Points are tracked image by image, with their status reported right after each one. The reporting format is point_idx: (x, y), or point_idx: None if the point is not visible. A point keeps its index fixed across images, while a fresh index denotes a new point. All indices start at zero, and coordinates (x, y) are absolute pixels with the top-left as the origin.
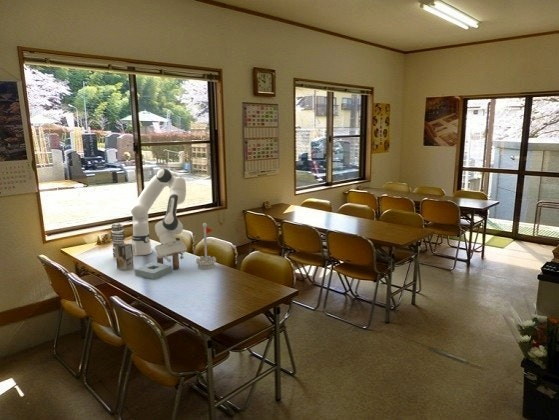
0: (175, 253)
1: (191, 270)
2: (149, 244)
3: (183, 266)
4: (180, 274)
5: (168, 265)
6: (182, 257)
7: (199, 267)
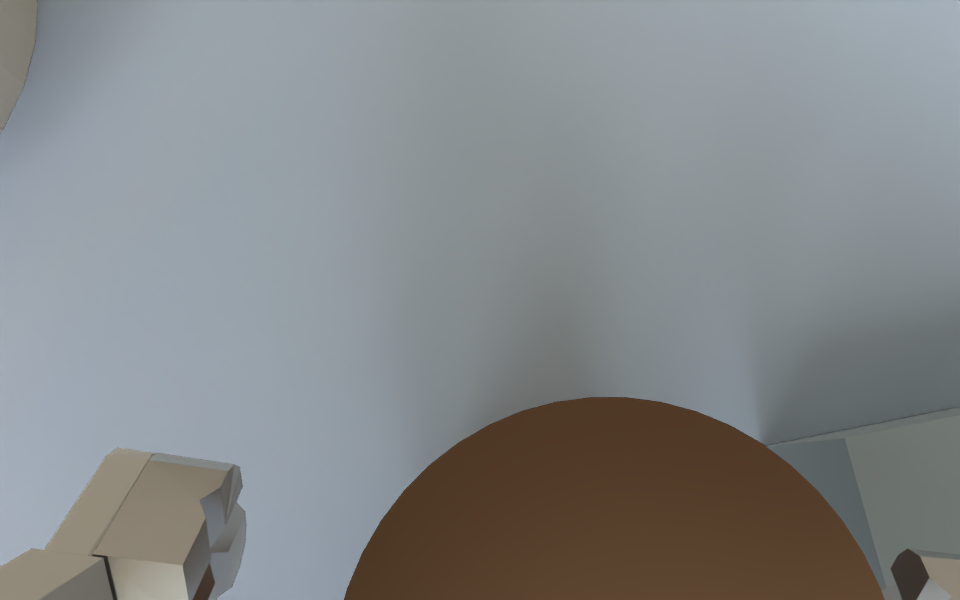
0: (659, 580)
1: (307, 80)
2: None
3: None
4: (724, 54)
5: None
6: (182, 465)
7: (18, 42)
